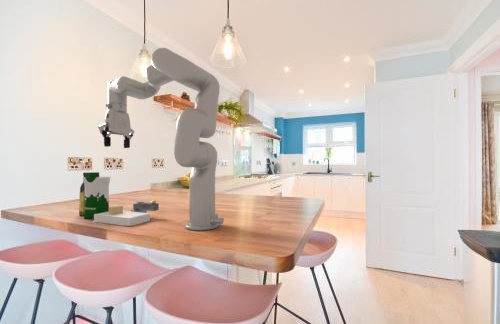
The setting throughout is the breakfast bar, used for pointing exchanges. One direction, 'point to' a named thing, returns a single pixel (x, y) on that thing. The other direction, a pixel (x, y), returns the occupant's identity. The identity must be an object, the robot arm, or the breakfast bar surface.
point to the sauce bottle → (82, 196)
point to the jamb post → (139, 211)
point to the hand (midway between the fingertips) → (117, 147)
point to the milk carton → (96, 194)
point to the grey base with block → (121, 217)
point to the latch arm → (146, 206)
